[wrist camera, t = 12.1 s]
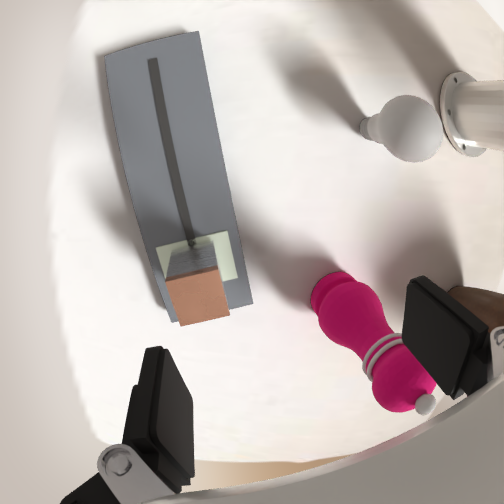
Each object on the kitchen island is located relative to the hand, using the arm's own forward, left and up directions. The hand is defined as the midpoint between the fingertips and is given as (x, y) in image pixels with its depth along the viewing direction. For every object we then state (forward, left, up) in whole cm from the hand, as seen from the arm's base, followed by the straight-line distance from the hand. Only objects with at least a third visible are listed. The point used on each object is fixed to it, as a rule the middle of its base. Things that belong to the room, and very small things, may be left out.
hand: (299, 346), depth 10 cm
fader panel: (+4, -5, -21) cm, 22 cm away
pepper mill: (-10, +12, -21) cm, 26 cm away
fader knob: (+4, +3, -18) cm, 19 cm away
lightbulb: (-16, -7, -21) cm, 27 cm away
